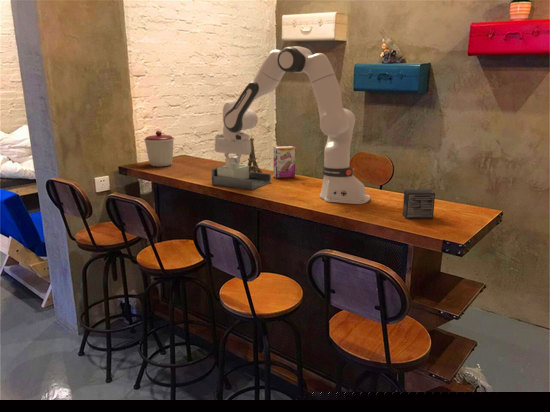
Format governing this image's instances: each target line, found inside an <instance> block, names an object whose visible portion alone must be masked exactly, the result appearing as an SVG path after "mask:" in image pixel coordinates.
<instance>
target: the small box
mask: <svg viewBox="0 0 550 412" xmlns="http://www.w3.org/2000/svg"><path fill="white" fill-rule="evenodd" d="M435 198H436V192H435V191H434V190H432V189H426V188H425V189H424V188H423V189H406V188H405V189H404V191H403V201H402V202H403V204H402V205H403V206H402V216H403V217H404V219H407V220H433V219H434V210H435Z"/></svg>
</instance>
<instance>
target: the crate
mask: <svg viewBox="0 0 550 412" xmlns="http://www.w3.org/2000/svg"><path fill="white" fill-rule="evenodd" d="M235 159H237V155H234V156H231V157H230V156H229V158H225V160H224V163H225V164H224V165H226V166H224V165H222V166H223V167H220V166H219V167H220V168H217V167H216V168H217V176H221V177H229V178H237V179H245V180H246V179H249V165H248V164H247V165H246V164H241V158H240V159H239V163H235Z"/></svg>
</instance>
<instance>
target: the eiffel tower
mask: <svg viewBox="0 0 550 412" xmlns="http://www.w3.org/2000/svg"><path fill="white" fill-rule="evenodd" d="M249 140H250V143H251V153H250V154H249V158H248V159H247V160H248V162H247V165H249V172H258V173H263V171H262V169H260V168H259V165H258V163H257V157H256V152H255V145H254V142H255V137H253V135H251V137H250V138H249Z"/></svg>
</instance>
